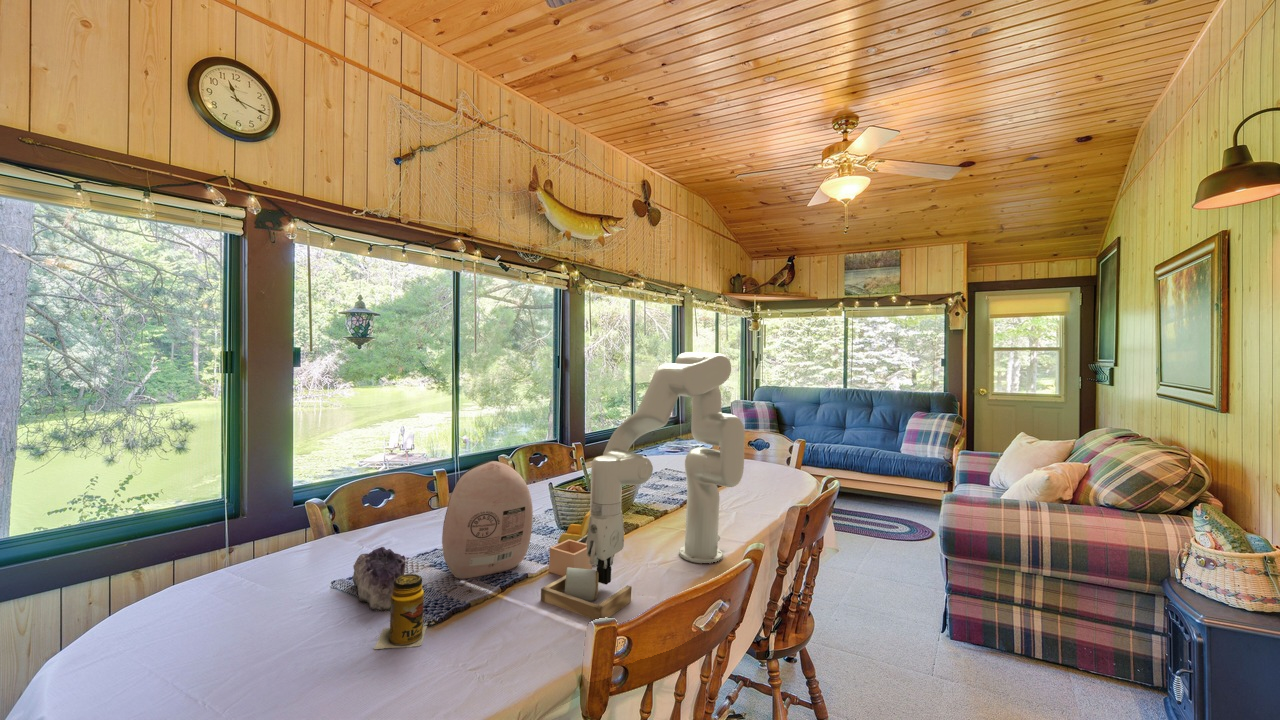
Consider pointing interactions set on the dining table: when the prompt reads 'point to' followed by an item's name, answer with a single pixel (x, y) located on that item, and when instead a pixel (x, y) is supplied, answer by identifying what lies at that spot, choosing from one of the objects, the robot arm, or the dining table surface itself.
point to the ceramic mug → (582, 583)
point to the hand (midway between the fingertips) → (603, 581)
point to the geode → (378, 577)
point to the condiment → (405, 614)
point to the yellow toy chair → (576, 530)
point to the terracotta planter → (568, 557)
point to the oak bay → (583, 607)
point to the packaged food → (487, 521)
